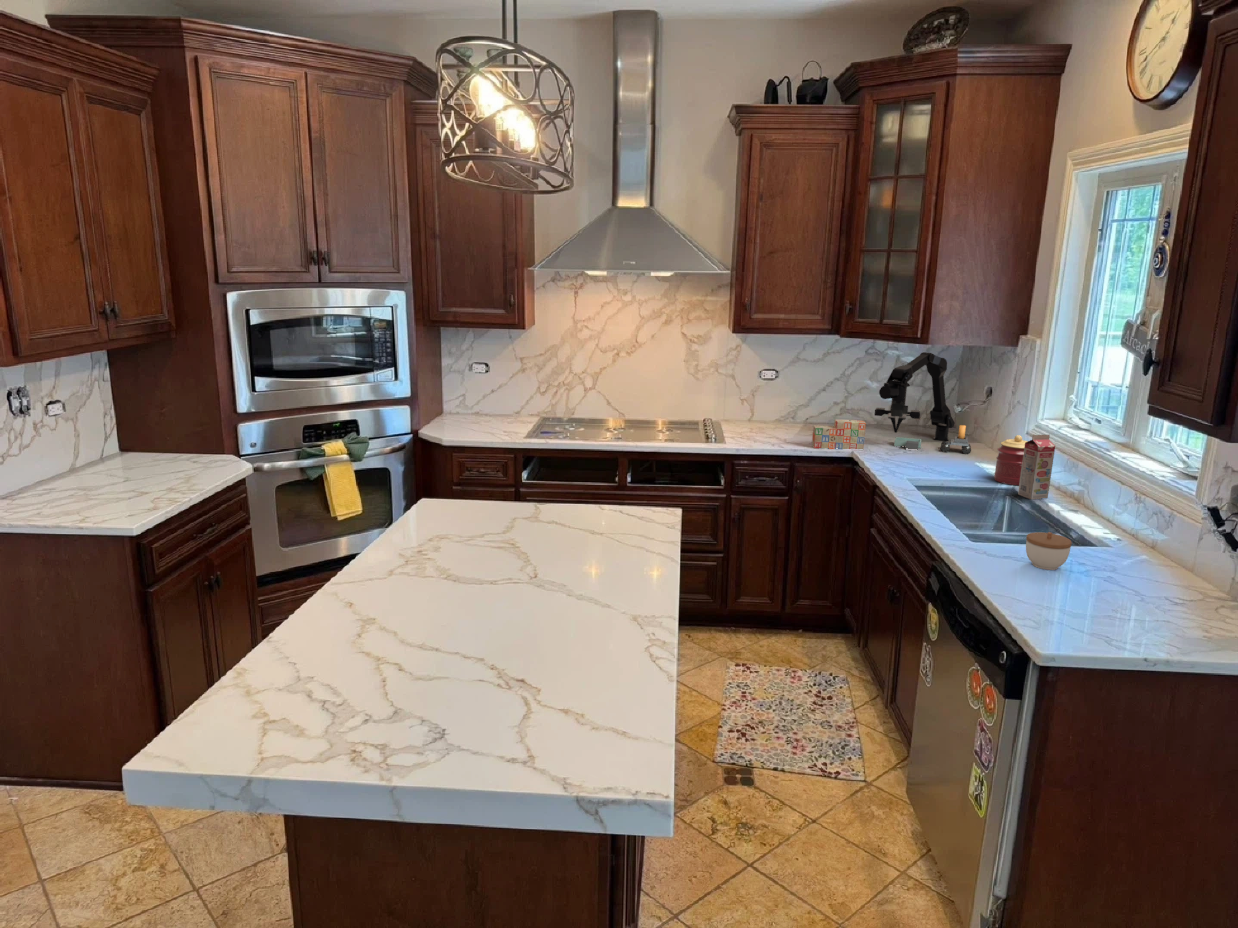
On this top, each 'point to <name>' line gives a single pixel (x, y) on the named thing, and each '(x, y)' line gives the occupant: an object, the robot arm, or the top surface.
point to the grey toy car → (956, 441)
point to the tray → (902, 441)
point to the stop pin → (961, 431)
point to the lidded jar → (1047, 550)
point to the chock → (912, 444)
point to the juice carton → (1036, 467)
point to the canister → (1010, 461)
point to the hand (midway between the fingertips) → (895, 432)
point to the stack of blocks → (840, 435)
